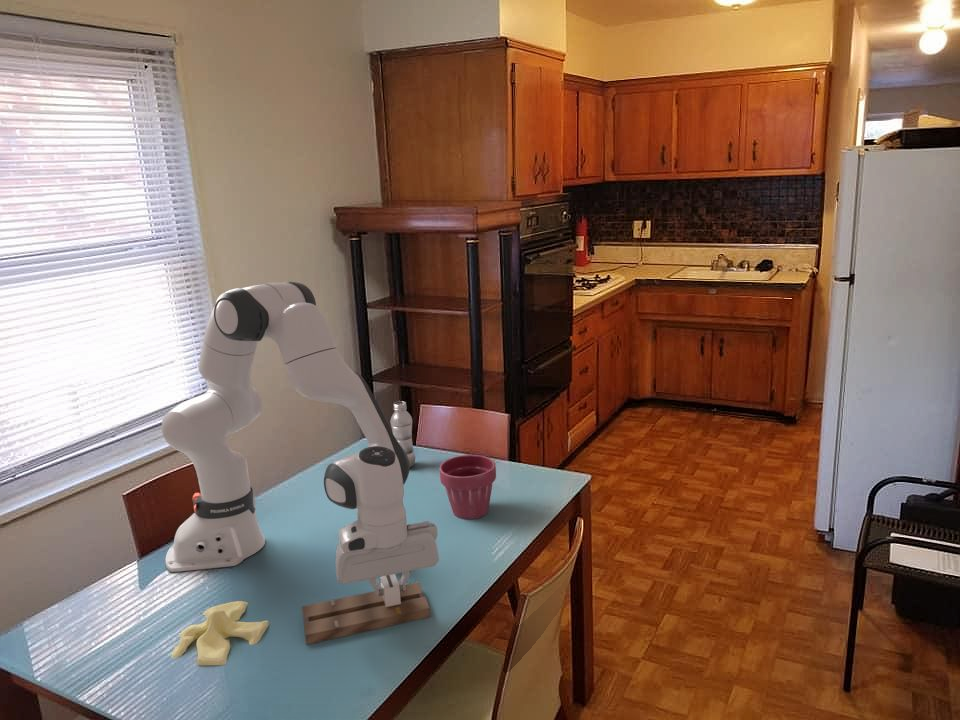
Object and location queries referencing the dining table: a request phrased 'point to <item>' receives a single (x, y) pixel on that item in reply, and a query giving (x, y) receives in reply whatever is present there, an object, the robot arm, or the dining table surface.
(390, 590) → the fader knob
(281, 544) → the dining table surface
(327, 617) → the fader console
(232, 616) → the cloth
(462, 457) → the plant pot
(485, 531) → the dining table surface
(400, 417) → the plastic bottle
